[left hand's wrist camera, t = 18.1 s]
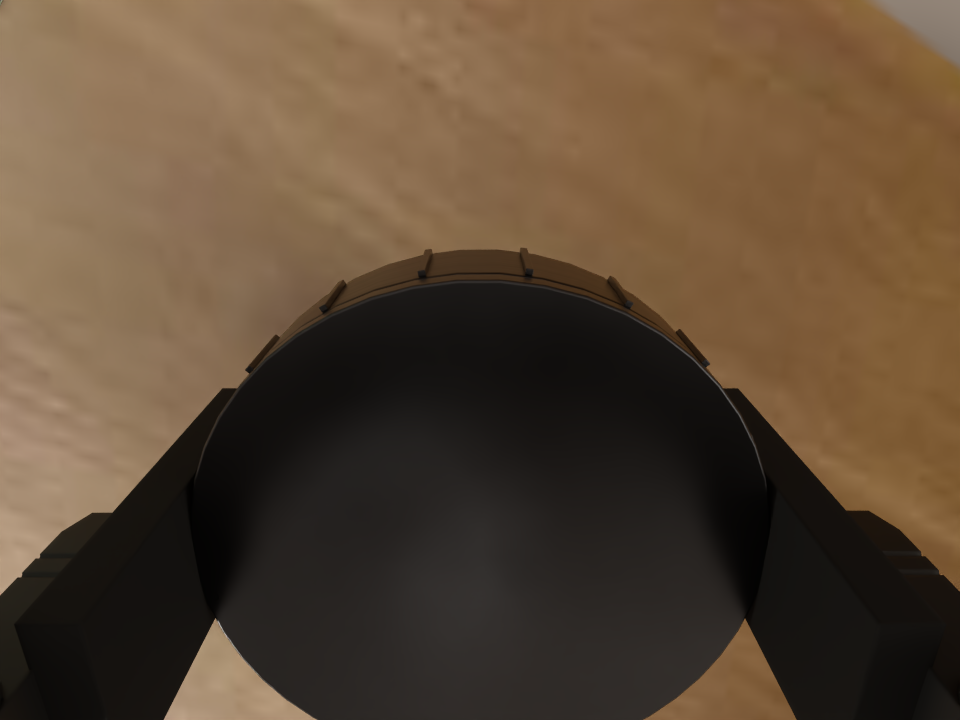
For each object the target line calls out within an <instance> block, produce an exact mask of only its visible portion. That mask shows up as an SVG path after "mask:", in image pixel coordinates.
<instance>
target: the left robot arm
mask: <svg viewBox="0 0 960 720" xmlns="http://www.w3.org/2000/svg"><path fill="white" fill-rule="evenodd" d="M236 390H237V388H222V390H221V391H220V392H219V393H218V394H217V395H216V396H215V398H214V399H213V400H212V401H211V402H210V403H209V404H208V405H207V407H206V408H205V409H204V410H203V411H202V412H201V413H200V414H199V416H198V417H197V418H196V419H195V420H194V421H193V422H192V424H191V425H190V426H189V427H188V428H187V429H186V430H185V431H184V433H183V434H182V435H181V436H180V437H179V438H178V439H177V440H176V442H175V443H174V444H173V445H172V446H171V447H170V448H169V450H168V451H167V452H166V453H165V454H164V455H163V456H162V457H161V459H160V460H159V461H158V462H157V463H156V464H155V465H154V466H153V468H152V469H151V470H150V471H149V472H148V473H147V474H146V475H145V477H144V478H143V479H142V480H141V481H140V482H139V483H138V485H137V486H136V487H135V488H134V489H133V490H132V491H131V492H130V494H129V495H128V496H127V497H126V498H125V499H124V500H123V501H122V503H121V504H120V505H119V506H118V507H117V508H116V509H115V511H114V512H113V513H91V514H90V515H88V516H87V517H85V518H83V519H82V520H80V521H78V522H77V523H75V524H74V525H72V526H70V527H69V528H67V529H65V530H64V531H62V532H61V533H60V534H59V535H58V536H57V537H56V538H55V539H54V540H53V541H52V542H51V543H50V544H49V545H48V547H47V548H46V549H45V550H44V551H43V552H42V553H41V554H40V558H39V559H35V560H34V561H33V562H32V563H31V564H30V565H29V566H28V567H27V568H26V569H25V570H24V571H23V572H22V577H21V578H17V579H16V580H15V581H14V582H13V583H12V584H11V585H10V586H9V587H8V588H7V589H6V590H5V591H4V592H3V593H2V594H1V595H0V720H164V718H165V716H166V714H167V712H168V710H169V708H170V706H171V704H172V702H173V700H174V698H175V696H176V694H177V692H178V690H179V688H180V686H181V684H182V682H183V681H184V679H185V677H186V675H187V673H188V671H189V669H190V667H191V665H192V663H193V661H194V659H195V657H196V655H197V653H198V651H199V649H200V647H201V645H202V643H203V641H204V639H205V637H206V635H207V633H208V631H209V629H210V627H211V625H212V623H213V622H214V620H215V616H214V614H213V612H212V610H211V608H210V606H209V605H208V602H207V599H206V596H205V594H204V591H203V588H202V585H201V582H200V578H199V573H198V568H197V563H196V558H195V553H194V547H193V542H192V535H191V504H192V495H193V487H194V479H195V476H196V472H197V469H198V465H199V462H200V458H201V455H202V452H203V448H204V446H205V444H206V441H207V439H208V437H209V435H210V433H211V431H212V429H213V427H214V425H215V422H216V420H217V418H218V416H219V415H220V413H221V412H222V410H223V409H224V407H225V406H226V404H227V403H228V401H229V400H230V399H231V397H232V396H233V394H234V393H235V391H236ZM724 391H725V392H726V393H727V395H728V396H729V398H730V399H731V401H732V402H733V403H734V405H735V406H736V408H737V409H738V411H739V412H740V413H741V415H742V417H743V420H744V422H745V424H746V426H747V428H748V430H749V432H750V433H751V434H752V436H753V439H754V442H755V444H756V447H757V450H758V453H759V457H760V460H761V463H762V467H763V470H764V473H765V477H766V484H767V491H768V499H769V506H770V524H769V538H768V544H767V550H766V555H765V560H764V565H763V571H762V575H761V580H760V584H759V587H758V590H757V592H756V595H755V598H754V601H753V603H752V605H751V607H750V609H749V611H748V613H747V615H746V617H745V619H746V621H747V623H748V625H749V627H750V629H751V631H752V633H753V634H754V636H755V638H756V640H757V642H758V644H759V646H760V648H761V650H762V652H763V654H764V656H765V658H766V660H767V662H768V664H769V666H770V668H771V670H772V672H773V674H774V676H775V678H776V680H777V682H778V684H779V686H780V688H781V690H782V692H783V693H784V695H785V697H786V699H787V701H788V703H789V705H790V707H791V709H792V711H793V713H794V715H795V717H796V719H797V720H960V592H959V591H958V590H957V589H956V588H955V586H954V585H953V584H952V583H951V582H950V581H949V580H948V579H947V578H946V577H945V576H944V575H940V574H939V570H938V569H937V568H936V567H935V566H934V565H933V564H932V563H931V562H930V561H929V560H928V559H927V558H926V557H925V556H921V551H920V550H919V549H918V548H917V547H916V546H915V545H914V544H913V543H912V542H911V541H910V540H909V539H908V538H907V537H906V536H905V535H904V534H903V533H902V532H901V531H900V530H899V529H897V528H896V527H894V526H893V525H891V524H889V523H888V522H886V521H884V520H883V519H881V518H880V517H878V516H876V515H875V514H873V513H871V512H870V511H846V510H845V509H844V508H843V507H842V506H841V504H840V503H839V502H838V501H837V500H836V499H835V498H834V496H833V495H832V494H831V493H830V492H829V491H828V490H827V489H826V487H825V486H824V485H823V484H822V483H821V482H820V481H819V480H818V478H817V477H816V476H815V475H814V474H813V473H812V472H811V470H810V469H809V468H808V467H807V466H806V465H805V464H804V463H803V461H802V460H801V459H800V458H799V457H798V456H797V455H796V454H795V452H794V451H793V450H792V449H791V448H790V447H789V446H788V444H787V443H786V442H785V441H784V440H783V439H782V438H781V437H780V435H779V434H778V433H777V432H776V431H775V430H774V429H773V428H772V426H771V425H770V424H769V423H768V422H767V421H766V420H765V419H764V417H763V416H762V415H761V414H760V413H759V412H758V411H757V409H756V408H755V407H754V406H753V405H752V404H751V403H750V402H749V400H748V399H747V398H746V397H745V396H744V395H743V394H742V393H741V391H740V390H739V389H724Z"/></svg>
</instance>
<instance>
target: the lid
mask: <svg viewBox="0 0 960 720" xmlns="http://www.w3.org/2000/svg"><path fill="white" fill-rule="evenodd" d="M709 364H710V363H709V362H708V361H707V359H706V358H705V357H704V356H703V355H702V354H701V352H700V351H699V350H698V349H697V348H696V347H695V345H694V344H693V343H692V342H691V341H690V340H689V339H688V337H687V336H686V335H685V334H684V333H683V332H682V331H681V329H679V330H678V331H676V332H675V331H674V330H673V329H672V328H671V327H670V326H669V325H668V324H667V323H666V322H665V320H664V319H663V318H662V317H661V316H660V315H658V314H657V313H656V312H655V311H653V310H652V309H651V308H649V307H648V306H647V305H646V304H644V303H643V302H642V301H641V300H639V299H638V298H637V297H635V296H634V295H633V294H631V293H629V292H628V291H626V290H624V289H623V288H622V287H621V286H620V284H619V283H618V281H617V280H616V279H615V278H614V277H612V276H610V277H609V278H608V280H607V279H605V278H603V277H601V276H599V275H596V274H594V273H591V272H589V271H586V270H584V269H582V268H579V267H577V266H574V265H572V264H569V263H565V262H561V261H558V260H554V259H550V258H546V257H542V256H539V255H535V254H529V253H528V250H527V248H520V253H519V252H511V251H504V250H456V251H449V252H441V253H434V254H432V249H428V250H425V252H424V255H421V256H418V257H414V258H410V259H407V260H403V261H399V262H396V263H392V264H388V265H386V266H384V267H381V268H379V269H376V270H374V271H372V272H369V273H367V274H365V275H362V276H360V277H357V278H355V279H353V280H352V281H350V282H348V283H347V284H346V283H345V281H344V280H341V281H340V282H338V283H337V285H336V286H335V287H334V288H333V290H332V291H331V292H330V294H328V295H326V296H325V297H324V298H322V299H321V300H320V301H319V302H317V303H316V304H315V305H314V306H312V307H311V308H310V309H309V310H307V311H306V312H305V313H304V314H302V315H301V316H300V317H299V318H298V319H297V320H296V321H295V322H294V323H293V324H292V325H291V326H290V327H289V328H288V329H287V330H286V332H285V333H284V334H283V335H282V336H281V337H278V336H277V335H275V336H274V337H273V338H272V339H271V340H270V342H269V343H268V344H267V345H266V346H265V347H264V348H263V350H262V351H261V352H260V353H259V354H258V355H257V357H256V358H255V359H254V360H253V361H252V362H251V364H250V365H249V366H248V367H247V368H246V370H245V371H247V372H248V373H249V375H248V376H247V377H246V378H245V379H244V381H243V382H242V383H241V384H240V385H239V387H238V388H237V390H236V391H235V393H234V394H233V396H232V397H231V399H230V400H229V401H228V403H227V404H226V406H225V407H224V409H223V410H222V412H221V413H220V415H219V416H218V418H217V420H216V422H215V425H214V427H213V429H212V431H211V433H210V435H209V437H208V439H207V441H206V444H205V446H204V448H203V452H202V455H201V458H200V462H199V465H198V469H197V472H196V476H195V479H194V487H193V495H192V504H191V535H192V542H193V547H194V553H195V558H196V563H197V568H198V573H199V578H200V582H201V585H202V588H203V591H204V594H205V596H206V599H207V602H208V605H209V606H210V608H211V610H212V612H213V614H214V616H215V618H216V620H217V622H218V623H219V625H220V627H221V629H222V631H223V633H224V634H225V635H226V637H227V638H228V639H229V641H230V642H231V644H232V645H233V646H234V648H235V649H236V651H237V652H238V653H239V655H240V656H241V657H242V658H243V659H244V661H245V662H246V663H247V664H248V665H249V666H250V667H251V668H252V669H253V670H254V671H255V672H256V673H257V674H258V676H259V677H260V678H261V679H262V680H263V681H265V682H266V683H267V684H268V685H269V686H271V687H272V688H273V689H274V690H275V691H276V692H278V693H279V694H280V695H281V696H282V697H284V698H285V699H286V700H287V701H289V702H290V703H292V704H293V705H295V706H296V707H298V708H299V709H301V710H302V711H304V712H305V713H307V714H308V715H310V716H311V717H313V718H315V719H317V720H643V719H645V718H647V717H649V716H651V715H652V714H654V713H655V712H657V711H658V710H660V709H661V708H663V707H664V706H666V705H667V704H668V703H670V702H671V701H673V700H674V699H676V698H677V697H678V696H679V695H681V694H682V693H683V692H684V691H685V690H686V689H688V688H689V687H690V686H691V685H692V684H693V683H695V682H696V681H697V680H698V679H699V678H700V677H701V676H702V675H703V674H704V673H705V672H706V671H707V670H708V669H709V668H710V666H711V665H712V664H713V663H714V662H715V661H716V660H717V659H718V658H719V657H720V656H721V654H722V653H723V651H724V650H725V649H726V647H727V646H728V644H729V643H730V642H731V640H732V639H733V637H734V636H735V634H736V633H737V632H738V630H739V628H740V626H741V625H742V623H743V621H744V619H745V617H746V615H747V613H748V611H749V609H750V607H751V605H752V603H753V601H754V598H755V595H756V592H757V590H758V587H759V584H760V580H761V575H762V571H763V565H764V560H765V555H766V550H767V544H768V538H769V524H770V506H769V499H768V491H767V484H766V477H765V473H764V470H763V467H762V463H761V460H760V457H759V453H758V450H757V447H756V444H755V442H754V439H753V436H752V434H751V433H750V432H749V430H748V428H747V426H746V424H745V422H744V420H743V417H742V415H741V413H740V412H739V411H738V409H737V408H736V406H735V405H734V403H733V402H732V401H731V399H730V398H729V396H728V395H727V393H726V392H725V391H724V389H723V388H722V386H721V385H720V384H719V382H718V381H717V380H716V379H715V378H714V376H713V375H712V374H711V373H710V372H709V370H708V369H707V368H706V367H707V366H708V365H709Z"/></svg>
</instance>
